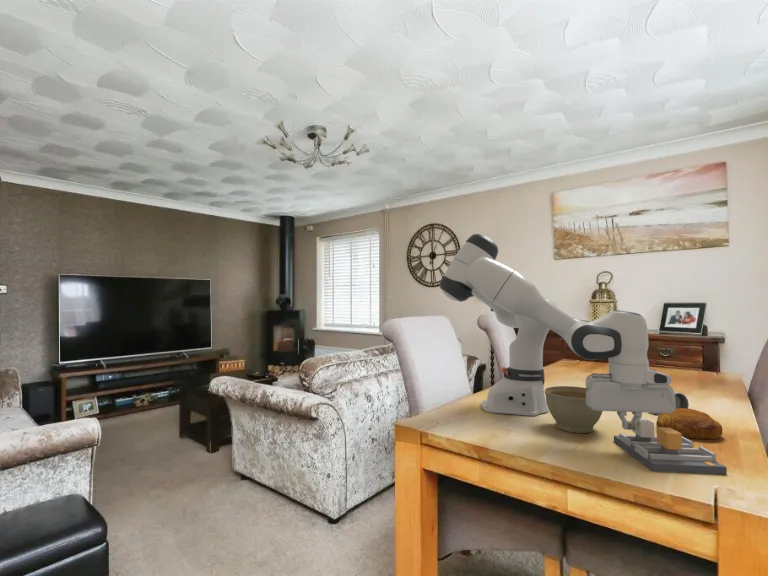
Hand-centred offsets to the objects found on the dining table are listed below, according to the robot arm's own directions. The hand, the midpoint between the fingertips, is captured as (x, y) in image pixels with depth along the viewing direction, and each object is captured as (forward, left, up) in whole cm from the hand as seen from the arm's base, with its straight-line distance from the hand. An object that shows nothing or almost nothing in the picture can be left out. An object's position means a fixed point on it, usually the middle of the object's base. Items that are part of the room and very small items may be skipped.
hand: (629, 429), depth 102 cm
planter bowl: (-8, +16, -5) cm, 19 cm away
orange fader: (+5, -8, -3) cm, 10 cm away
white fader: (+3, 0, -3) cm, 5 cm away
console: (+6, -4, -5) cm, 9 cm away
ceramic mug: (+29, +37, -5) cm, 47 cm away
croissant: (+23, +16, -6) cm, 28 cm away
